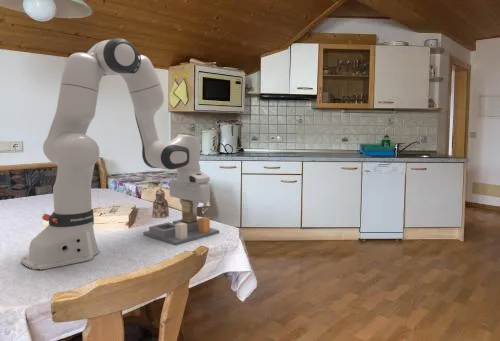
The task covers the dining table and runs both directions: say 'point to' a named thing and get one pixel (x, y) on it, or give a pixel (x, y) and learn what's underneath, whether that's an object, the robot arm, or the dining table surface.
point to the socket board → (191, 234)
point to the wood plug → (188, 212)
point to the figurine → (160, 205)
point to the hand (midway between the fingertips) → (189, 211)
